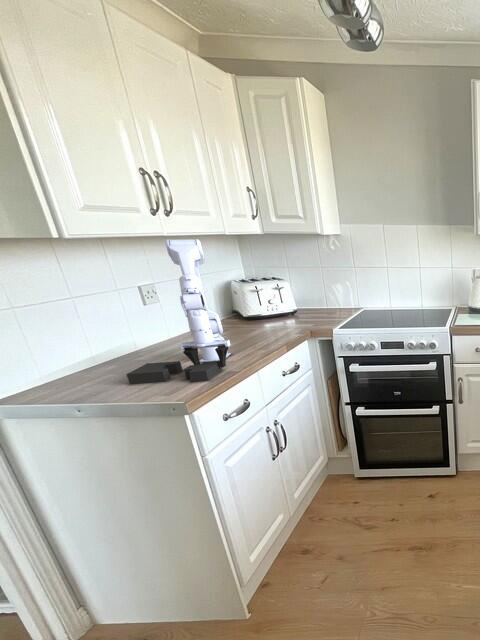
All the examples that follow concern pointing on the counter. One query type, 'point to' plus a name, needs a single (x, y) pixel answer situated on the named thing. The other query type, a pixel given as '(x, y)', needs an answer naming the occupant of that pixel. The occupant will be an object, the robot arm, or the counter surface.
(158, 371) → the notch pad
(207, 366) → the tab pad
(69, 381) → the counter surface
